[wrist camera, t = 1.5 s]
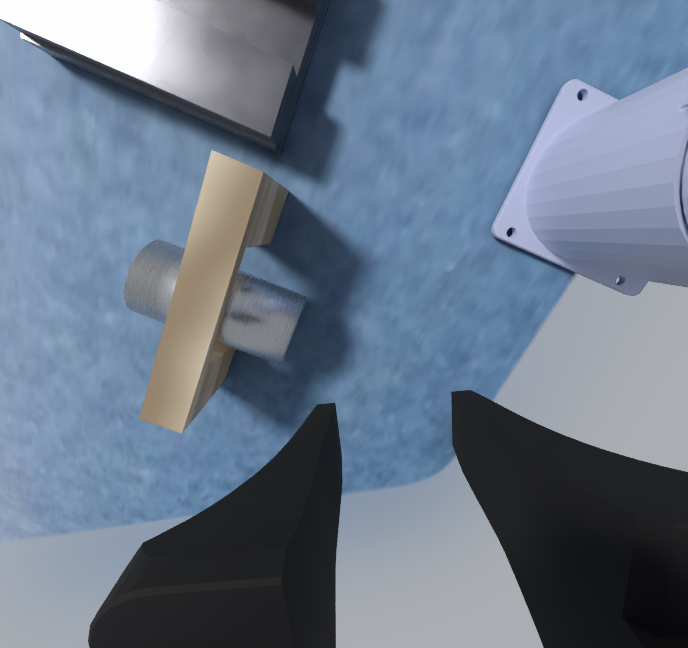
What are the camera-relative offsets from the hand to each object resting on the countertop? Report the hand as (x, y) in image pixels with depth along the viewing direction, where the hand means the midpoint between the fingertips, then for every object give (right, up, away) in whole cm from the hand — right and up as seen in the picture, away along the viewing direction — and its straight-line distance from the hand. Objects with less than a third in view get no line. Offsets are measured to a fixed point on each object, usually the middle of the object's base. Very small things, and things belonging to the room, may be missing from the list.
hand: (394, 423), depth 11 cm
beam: (-8, +6, +8) cm, 13 cm away
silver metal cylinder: (-8, +6, +8) cm, 13 cm away
